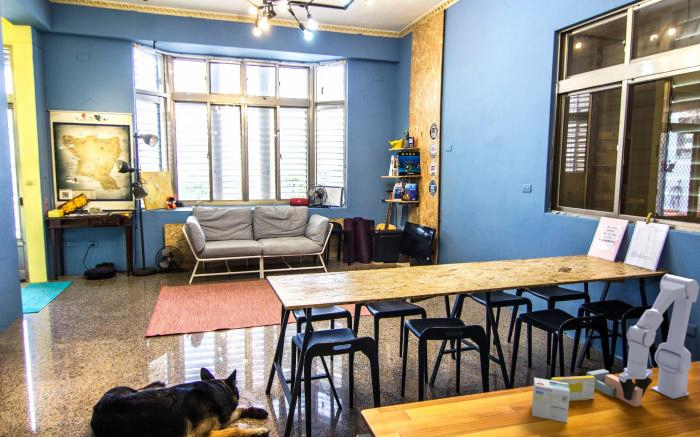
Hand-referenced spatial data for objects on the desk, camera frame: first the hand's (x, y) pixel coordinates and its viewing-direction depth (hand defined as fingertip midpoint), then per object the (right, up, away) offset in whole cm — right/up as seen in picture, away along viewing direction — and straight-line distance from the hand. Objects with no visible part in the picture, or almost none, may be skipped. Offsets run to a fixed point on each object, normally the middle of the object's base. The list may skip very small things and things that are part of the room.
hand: (633, 397), depth 157 cm
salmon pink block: (-2, -2, +4) cm, 5 cm away
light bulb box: (-34, -2, -9) cm, 35 cm away
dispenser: (-4, -1, +10) cm, 10 cm away
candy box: (-21, -1, +1) cm, 21 cm away
